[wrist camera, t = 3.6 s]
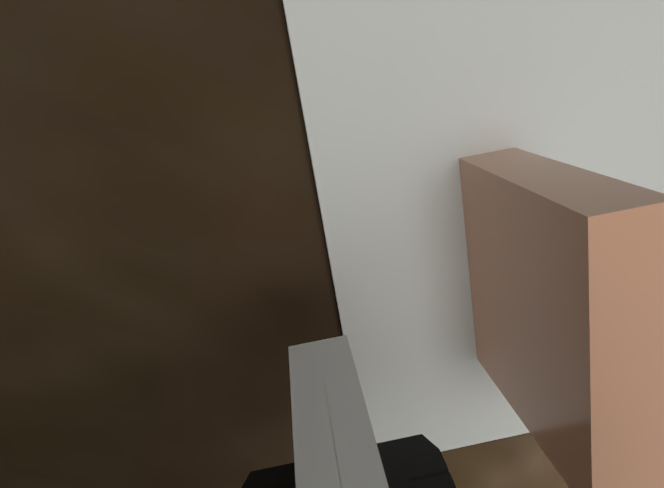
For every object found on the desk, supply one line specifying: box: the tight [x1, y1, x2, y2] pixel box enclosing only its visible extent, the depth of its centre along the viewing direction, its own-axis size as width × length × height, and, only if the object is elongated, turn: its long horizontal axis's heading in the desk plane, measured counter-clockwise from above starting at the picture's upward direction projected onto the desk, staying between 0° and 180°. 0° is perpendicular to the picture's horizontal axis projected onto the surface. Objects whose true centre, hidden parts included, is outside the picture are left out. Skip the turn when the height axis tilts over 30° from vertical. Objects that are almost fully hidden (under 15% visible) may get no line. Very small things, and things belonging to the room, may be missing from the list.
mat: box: [282, 0, 664, 452], centre depth 20 cm, size 20×18×1 cm
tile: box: [459, 148, 664, 488], centre depth 16 cm, size 2×8×8 cm, turn 10°
